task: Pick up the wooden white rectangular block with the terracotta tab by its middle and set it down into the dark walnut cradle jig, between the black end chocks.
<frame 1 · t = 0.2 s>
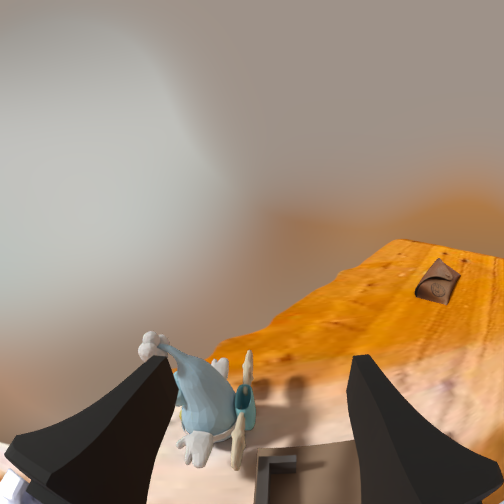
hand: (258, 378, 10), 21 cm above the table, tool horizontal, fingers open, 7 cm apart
sunglasses case: (439, 287, 53), on the table
toy figure: (215, 429, 29), on the table
cradle jig: (351, 493, 18), on the table
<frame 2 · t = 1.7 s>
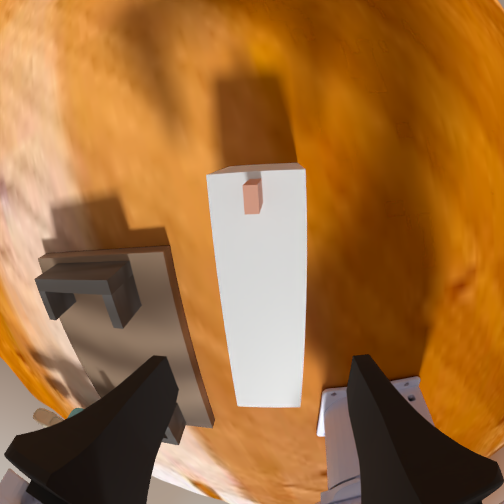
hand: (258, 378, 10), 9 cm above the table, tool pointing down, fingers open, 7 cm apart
white rectangular block: (269, 272, 18), on the table
toy figure: (108, 420, 29), on the table
cradle jig: (128, 348, 22), on the table
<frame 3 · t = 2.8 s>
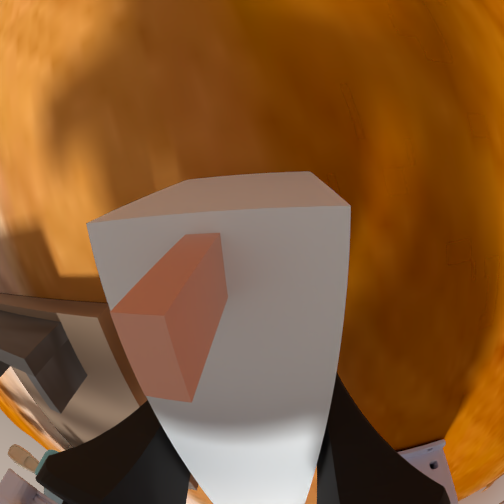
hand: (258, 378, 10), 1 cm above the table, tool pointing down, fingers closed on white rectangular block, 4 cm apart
white rectangular block: (261, 347, 11), on the table, touching gripper
toy figure: (86, 459, 22), on the table
cradle jig: (89, 408, 15), on the table
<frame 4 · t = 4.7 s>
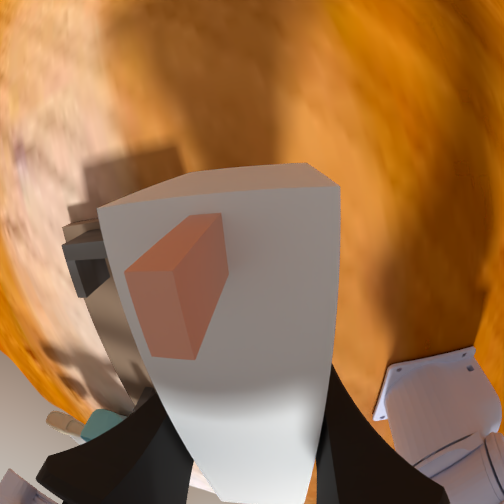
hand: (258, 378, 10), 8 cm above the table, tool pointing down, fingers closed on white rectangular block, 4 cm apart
white rectangular block: (262, 336, 12), point 6 cm above the table, touching gripper
toy figure: (132, 421, 27), on the table
cradle jig: (171, 333, 20), on the table
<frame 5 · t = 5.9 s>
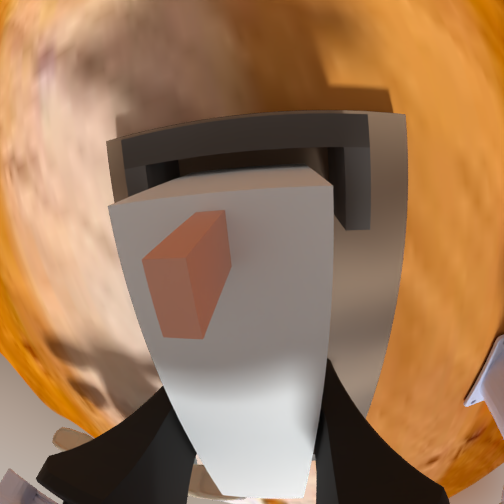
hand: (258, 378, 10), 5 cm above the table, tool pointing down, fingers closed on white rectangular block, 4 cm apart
white rectangular block: (262, 331, 12), point 2 cm above the table, touching gripper
toy figure: (168, 437, 21), on the table
cradle jig: (266, 311, 14), on the table
when the fingers open (4 cm above the table, at t = 6.4 s): white rectangular block stays where it is, resting on cradle jig.
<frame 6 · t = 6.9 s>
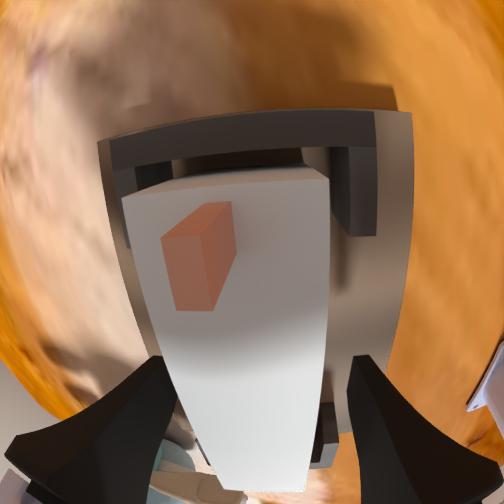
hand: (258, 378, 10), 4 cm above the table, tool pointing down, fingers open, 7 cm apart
white rectangular block: (263, 326, 12), point 1 cm above the table, touching cradle jig
toy figure: (166, 442, 20), on the table
cradle jig: (265, 319, 14), on the table
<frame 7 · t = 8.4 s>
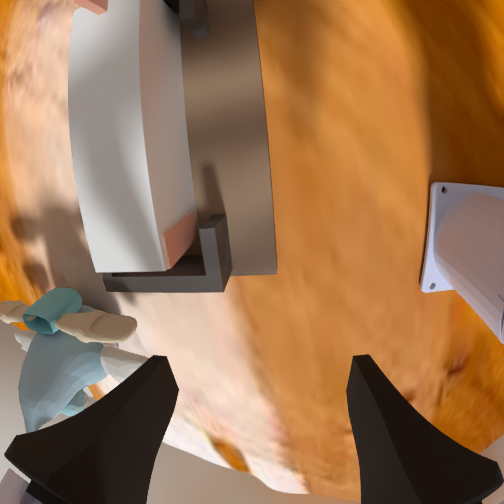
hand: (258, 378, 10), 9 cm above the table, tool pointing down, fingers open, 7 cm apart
white rectangular block: (154, 123, 15), point 1 cm above the table, touching cradle jig
toy figure: (99, 324, 23), on the table
cradle jig: (162, 131, 16), on the table
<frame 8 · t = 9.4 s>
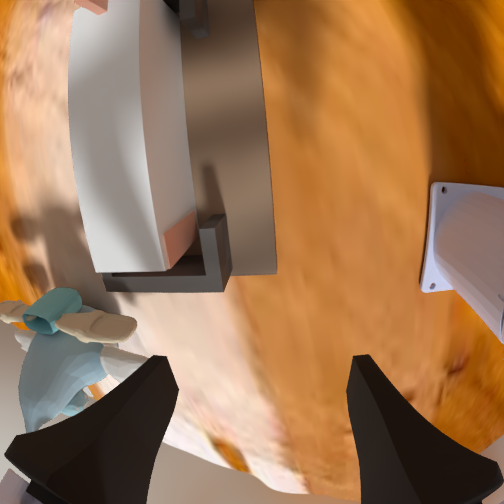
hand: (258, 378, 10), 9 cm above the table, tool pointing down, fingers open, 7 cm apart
white rectangular block: (154, 123, 15), point 1 cm above the table, touching cradle jig
toy figure: (99, 324, 23), on the table
cradle jig: (162, 131, 16), on the table
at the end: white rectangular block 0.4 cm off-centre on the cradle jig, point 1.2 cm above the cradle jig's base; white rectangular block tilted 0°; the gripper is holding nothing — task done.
